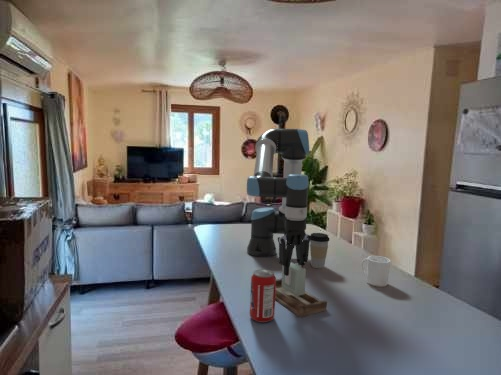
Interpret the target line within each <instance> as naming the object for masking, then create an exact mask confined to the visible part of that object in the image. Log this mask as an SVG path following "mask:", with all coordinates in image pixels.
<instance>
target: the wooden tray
mask: <svg viewBox="0 0 501 375" xmlns="http://www.w3.org/2000/svg"><path fill="white" fill-rule="evenodd" d="M275 302H277V303H279V304H280V305H282V306H283V307H284V308H286V309H288V310H289V311H291V312H292V313H293V314H295V315H296V316H298V317H299V318H303V317H306V316H307V317H308V316H310V315H314V314H317V313H321V312H325V311H327V310H328V309H327V307H328V301H327V300H321V299H320V298H317V296H315V295H312V294H311V293H309V292H308V291H306V290H305V294H304V295H299V296H296V295H294V294H292V293H291V292H289V291H287V290H286V289H284V288H282V277H281V278H276V292H275Z"/></svg>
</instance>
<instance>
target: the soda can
mask: <svg viewBox="0 0 501 375" xmlns="http://www.w3.org/2000/svg"><path fill="white" fill-rule="evenodd" d="M276 279H277V277H276V276H275V272H274V271H272V270H271V269H263V268H261V269H256V270H253V273H252V275H251V276H250V296H249V297H250V299H249V316H250V318H251V319H252V320H254V321H256V322H258V323H268V322H270V321H272V320H273V319H274V318H275V314H276V313H275V311H276V300H275V292H276Z"/></svg>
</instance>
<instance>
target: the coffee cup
mask: <svg viewBox="0 0 501 375" xmlns="http://www.w3.org/2000/svg"><path fill="white" fill-rule="evenodd" d="M310 236H311V240H310V244H309V251H310V252H309V253H310V259H311V260H310V261H311V262H310V263H311V267H312V268H315V269H324V268H325V266H326V258H327V255H328V254H327V253H328V248H329V241H330V237H329V235H328V234H327V233H322V232H312V233H310Z"/></svg>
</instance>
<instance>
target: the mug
mask: <svg viewBox="0 0 501 375" xmlns="http://www.w3.org/2000/svg"><path fill="white" fill-rule="evenodd" d="M365 261H367V262H366V270H365V265H364V264H365ZM390 266H391V259H389V258H388V257H385V256H380V255H370V256H367V258H366V257H365V258H363V259H362V260H361V267H362V268H361V269H362V272H363V274H364V276H365V277H366V282H367V284H368V285H370V286H372V287H378V288H384V287H387V286H388V282H389V277H390V276H389V274H390V268H391V267H390Z"/></svg>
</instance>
